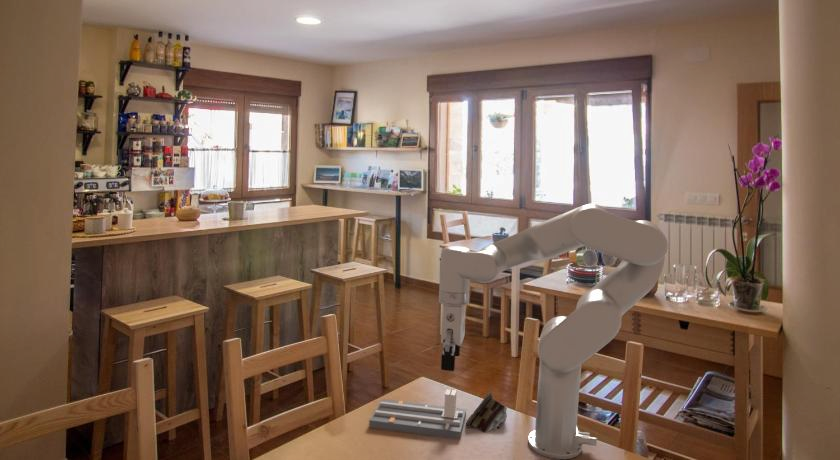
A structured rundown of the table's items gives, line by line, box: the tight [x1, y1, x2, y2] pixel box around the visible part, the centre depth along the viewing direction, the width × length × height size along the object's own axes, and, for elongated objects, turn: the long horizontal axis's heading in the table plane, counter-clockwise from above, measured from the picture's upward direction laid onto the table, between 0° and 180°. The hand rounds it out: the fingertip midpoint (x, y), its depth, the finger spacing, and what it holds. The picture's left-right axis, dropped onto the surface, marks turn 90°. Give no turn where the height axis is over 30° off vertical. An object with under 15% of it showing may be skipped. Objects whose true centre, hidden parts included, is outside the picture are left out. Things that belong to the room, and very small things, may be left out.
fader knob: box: [441, 388, 458, 420], centre depth 136 cm, size 4×3×7 cm
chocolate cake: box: [464, 389, 508, 433], centre depth 139 cm, size 10×7×12 cm
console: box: [368, 398, 467, 441], centre depth 139 cm, size 23×12×3 cm, turn 79°
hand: (450, 362), depth 135 cm, fingers open, 9 cm apart
